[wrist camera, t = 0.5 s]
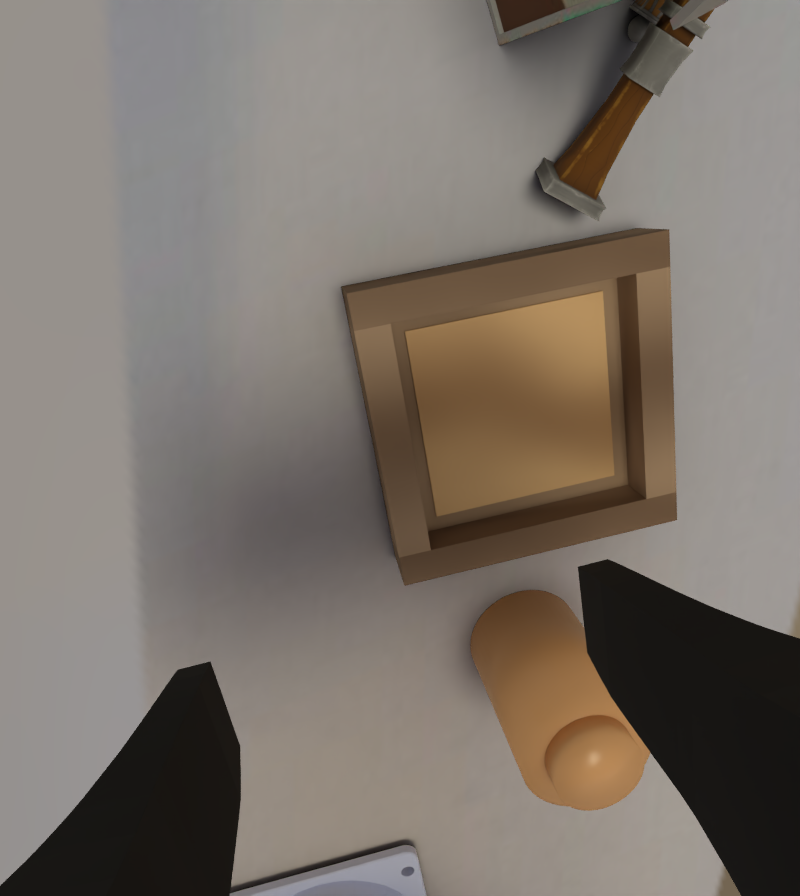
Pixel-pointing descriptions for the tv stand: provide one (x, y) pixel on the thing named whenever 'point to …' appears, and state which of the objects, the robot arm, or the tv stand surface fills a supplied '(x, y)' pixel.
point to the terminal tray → (520, 399)
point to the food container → (566, 14)
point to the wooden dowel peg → (555, 703)
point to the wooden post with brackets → (622, 104)
